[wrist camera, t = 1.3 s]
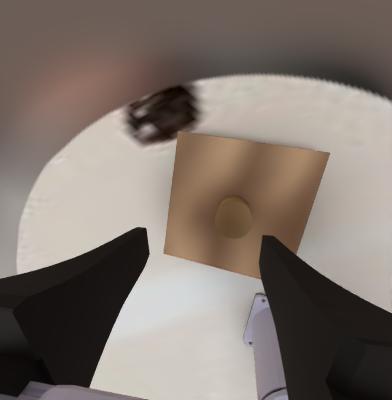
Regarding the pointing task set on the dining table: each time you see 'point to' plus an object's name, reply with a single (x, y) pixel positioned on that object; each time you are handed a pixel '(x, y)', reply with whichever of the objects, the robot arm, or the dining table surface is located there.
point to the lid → (238, 199)
